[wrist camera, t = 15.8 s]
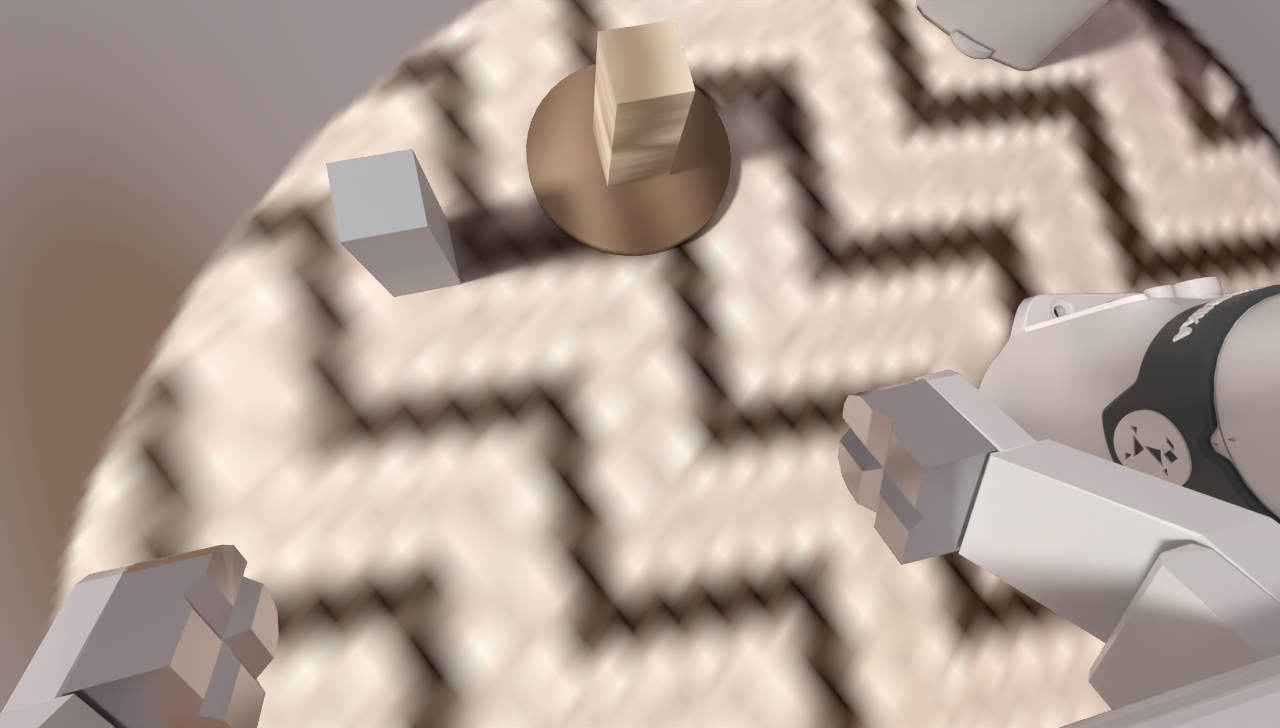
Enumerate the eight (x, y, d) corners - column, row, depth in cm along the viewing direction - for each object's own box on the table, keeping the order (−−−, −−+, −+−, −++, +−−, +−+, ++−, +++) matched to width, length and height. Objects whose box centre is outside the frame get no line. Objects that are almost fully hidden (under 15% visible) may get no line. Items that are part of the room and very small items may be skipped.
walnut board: (699, 56, 43) (702, 47, 42) (749, 234, 41) (753, 228, 40) (508, 86, 41) (507, 76, 40) (551, 273, 40) (551, 268, 39)
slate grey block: (448, 222, 39) (412, 149, 31) (460, 283, 39) (427, 226, 30) (382, 235, 39) (326, 163, 30) (393, 296, 38) (340, 242, 29)
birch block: (653, 118, 41) (675, 19, 32) (668, 175, 40) (695, 90, 32) (592, 129, 40) (598, 31, 32) (607, 187, 40) (617, 104, 31)
